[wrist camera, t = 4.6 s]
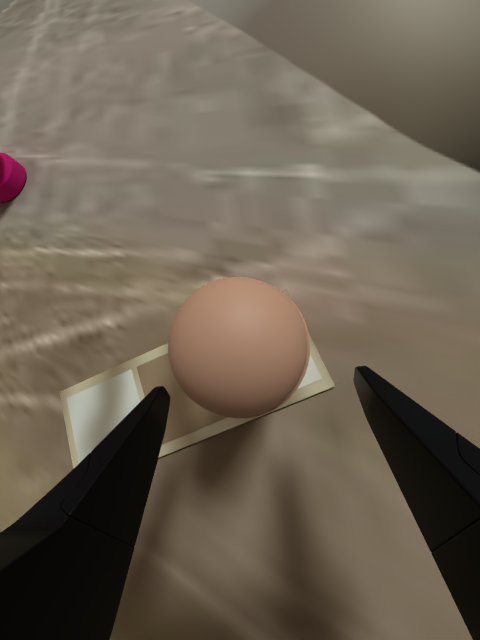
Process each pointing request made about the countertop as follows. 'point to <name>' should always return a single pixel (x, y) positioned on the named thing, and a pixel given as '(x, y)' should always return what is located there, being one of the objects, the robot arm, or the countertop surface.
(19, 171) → the pepper mill
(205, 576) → the countertop surface
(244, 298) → the tan knob handle
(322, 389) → the board
